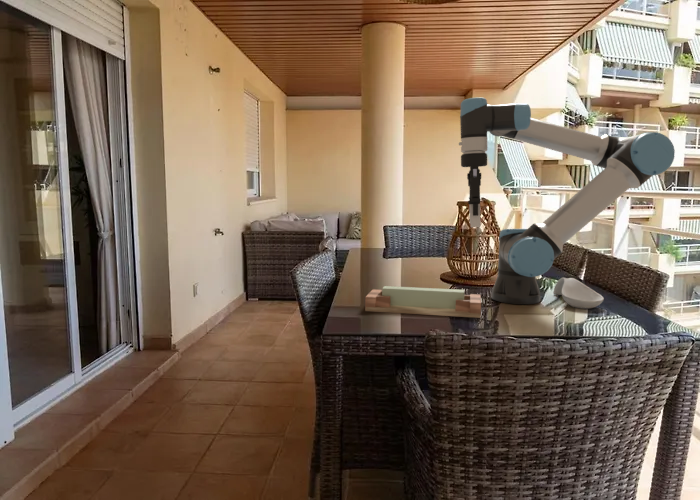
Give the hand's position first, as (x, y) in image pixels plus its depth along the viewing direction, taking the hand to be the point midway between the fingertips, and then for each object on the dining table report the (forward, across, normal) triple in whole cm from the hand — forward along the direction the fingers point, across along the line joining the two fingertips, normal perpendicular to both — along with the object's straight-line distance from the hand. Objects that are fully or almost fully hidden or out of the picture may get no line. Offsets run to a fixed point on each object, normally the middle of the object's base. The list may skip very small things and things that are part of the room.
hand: (474, 225), depth 153 cm
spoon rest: (+27, -15, +31) cm, 44 cm away
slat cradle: (+24, +6, -15) cm, 29 cm away
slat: (+23, +6, -16) cm, 28 cm away
